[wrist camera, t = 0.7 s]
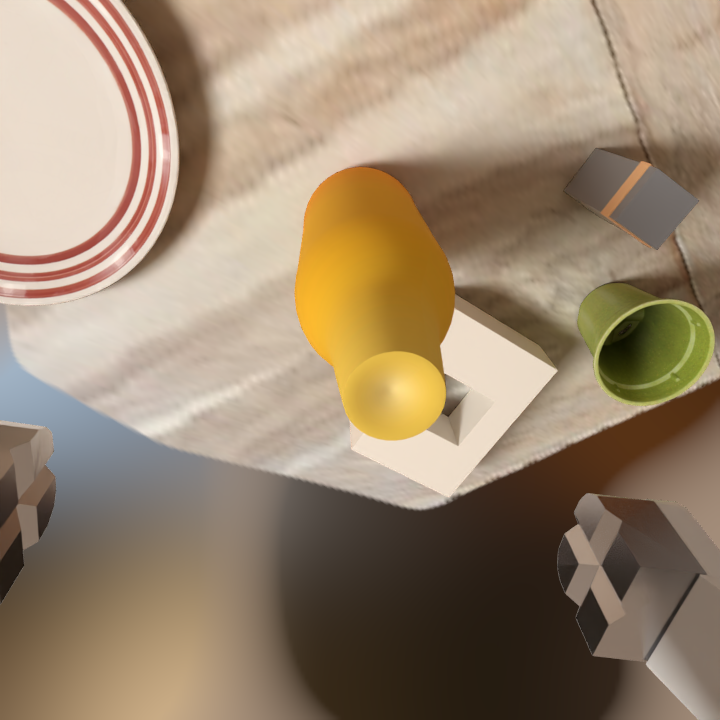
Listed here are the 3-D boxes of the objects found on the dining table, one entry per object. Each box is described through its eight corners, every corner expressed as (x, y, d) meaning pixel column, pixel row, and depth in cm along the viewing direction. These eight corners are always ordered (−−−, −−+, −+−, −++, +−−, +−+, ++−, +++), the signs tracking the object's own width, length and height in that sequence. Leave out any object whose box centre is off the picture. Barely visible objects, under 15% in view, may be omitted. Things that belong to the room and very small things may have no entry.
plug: (595, 146, 48) (657, 166, 39) (633, 174, 49) (701, 200, 40) (561, 191, 49) (613, 220, 40) (598, 217, 50) (657, 252, 42)
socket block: (444, 287, 53) (455, 308, 48) (539, 345, 56) (558, 370, 51) (349, 419, 58) (351, 449, 54) (440, 465, 61) (448, 497, 57)
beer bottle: (281, 217, 49) (228, 391, 23) (366, 138, 47) (413, 236, 21) (354, 295, 52) (379, 523, 27) (437, 226, 50) (553, 404, 24)
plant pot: (598, 377, 57) (640, 426, 50) (536, 317, 54) (571, 360, 47) (679, 309, 55) (737, 350, 47) (619, 242, 52) (670, 274, 44)
